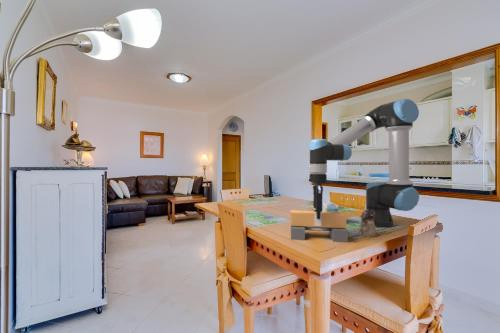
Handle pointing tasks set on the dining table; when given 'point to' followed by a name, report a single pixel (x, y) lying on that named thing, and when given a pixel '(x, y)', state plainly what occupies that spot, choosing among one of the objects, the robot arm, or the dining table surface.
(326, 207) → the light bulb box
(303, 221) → the light wood long bar
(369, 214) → the figurine
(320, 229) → the grey dumbbell
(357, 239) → the dining table surface
